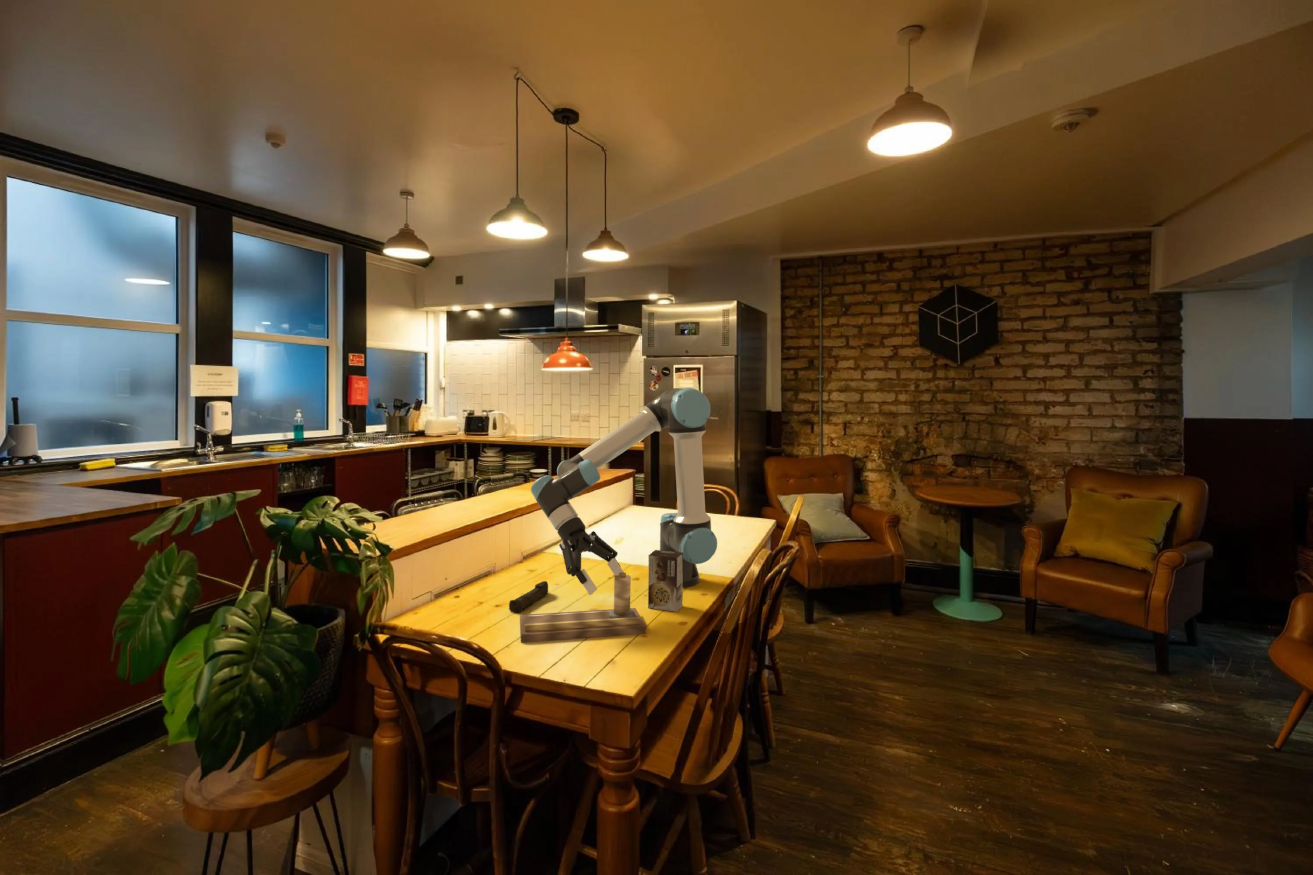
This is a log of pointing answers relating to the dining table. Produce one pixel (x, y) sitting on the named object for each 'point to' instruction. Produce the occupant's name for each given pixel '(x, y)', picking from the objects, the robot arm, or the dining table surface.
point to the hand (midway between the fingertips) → (609, 585)
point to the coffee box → (665, 580)
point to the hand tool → (529, 597)
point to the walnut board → (577, 625)
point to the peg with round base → (622, 597)
